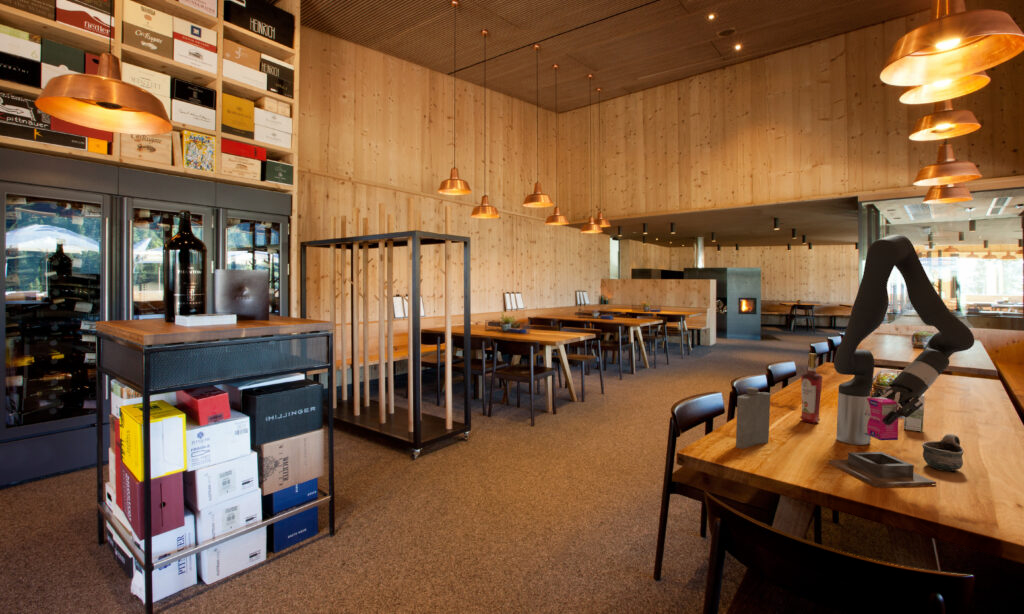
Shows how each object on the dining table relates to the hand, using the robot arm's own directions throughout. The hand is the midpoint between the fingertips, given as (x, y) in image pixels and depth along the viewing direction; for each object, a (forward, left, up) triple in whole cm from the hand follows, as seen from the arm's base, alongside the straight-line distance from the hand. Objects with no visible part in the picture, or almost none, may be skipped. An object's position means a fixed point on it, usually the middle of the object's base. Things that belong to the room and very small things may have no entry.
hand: (876, 419), depth 143 cm
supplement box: (-2, 0, -5) cm, 6 cm away
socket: (-2, 0, -16) cm, 16 cm away
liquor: (-19, -52, -16) cm, 58 cm away
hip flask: (+21, -28, -17) cm, 39 cm away
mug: (-26, -3, -17) cm, 31 cm away
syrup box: (-52, -39, -17) cm, 67 cm away
